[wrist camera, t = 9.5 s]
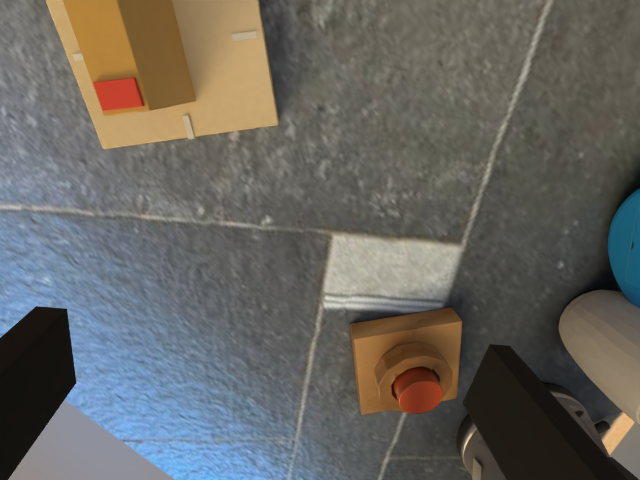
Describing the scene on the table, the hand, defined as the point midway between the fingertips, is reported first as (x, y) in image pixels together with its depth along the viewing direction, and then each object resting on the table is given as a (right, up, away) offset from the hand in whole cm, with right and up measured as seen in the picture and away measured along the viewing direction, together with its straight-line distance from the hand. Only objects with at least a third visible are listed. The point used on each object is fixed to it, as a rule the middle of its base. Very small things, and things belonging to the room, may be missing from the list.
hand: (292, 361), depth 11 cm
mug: (+30, -3, +24) cm, 39 cm away
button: (+10, -9, +21) cm, 25 cm away
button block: (+9, -8, +24) cm, 27 cm away
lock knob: (-8, +15, +8) cm, 19 cm away
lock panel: (-8, +16, +11) cm, 21 cm away
